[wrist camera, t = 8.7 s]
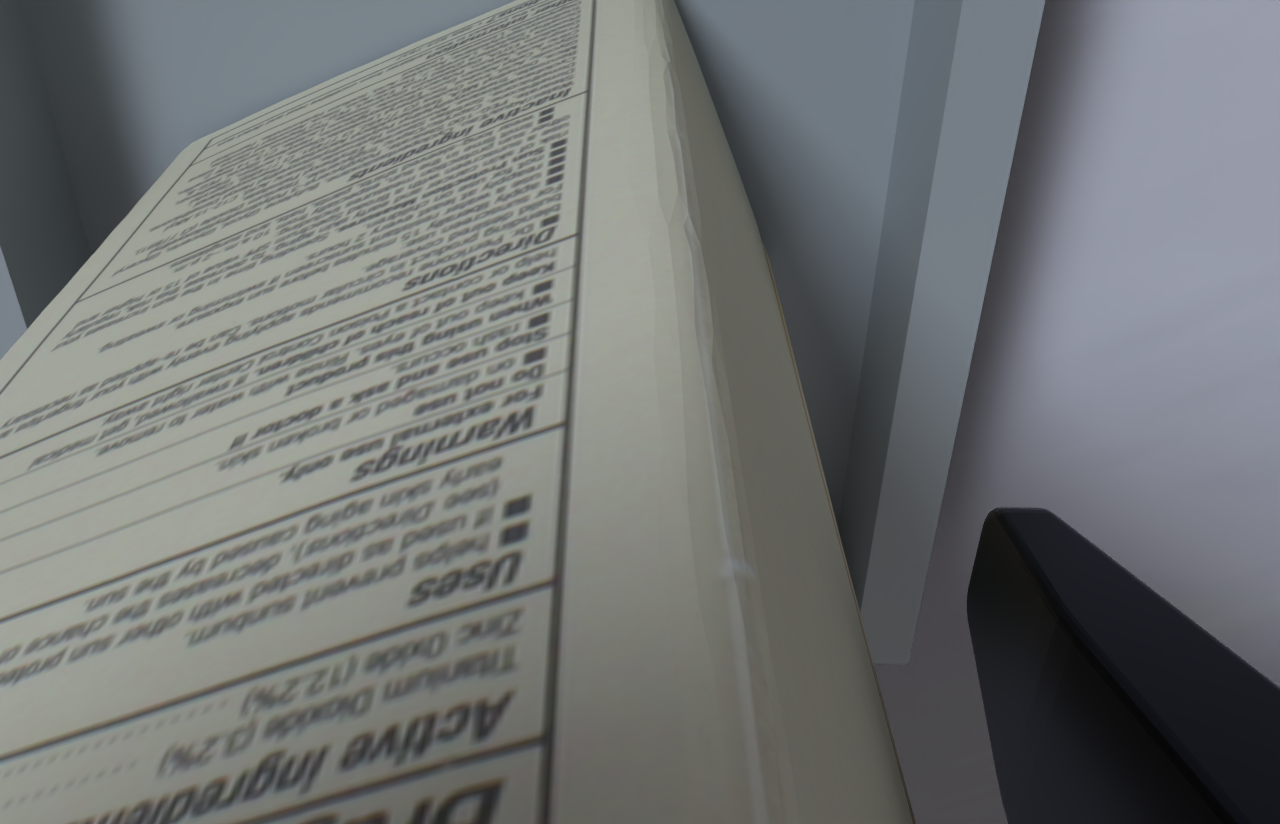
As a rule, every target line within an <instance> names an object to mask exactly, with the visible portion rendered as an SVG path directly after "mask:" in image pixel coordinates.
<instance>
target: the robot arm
mask: <svg viewBox="0 0 1280 824" xmlns="http://www.w3.org/2000/svg"><path fill="white" fill-rule="evenodd" d="M967 615H968V623H969V628H970V634H971V639H972V645H973V650H974V655H975V661H976V666H977V672H978V677H979V682H980V688H981V693H982V698H983V704H984V709H985V715H986V720H987V725H988V731H989V736H990V742H991V747H992V752H993V758H994V763H995V768H996V774H997V778H998V783H999V788H1000V793H1001V798H1002V802H1003V806H1004V809H1005V813H1006V817H1007V820H1008V824H1280V687H1278V686H1277V685H1276V684H1274V683H1273V682H1272V681H1270V680H1269V679H1268V678H1267V677H1265V676H1264V675H1263V674H1261V673H1260V672H1259V671H1257V670H1256V669H1255V668H1254V667H1252V666H1251V665H1250V664H1248V663H1247V662H1246V661H1244V660H1243V659H1242V658H1241V657H1239V656H1238V655H1237V654H1235V653H1234V652H1233V651H1231V650H1230V649H1229V648H1228V647H1226V646H1225V645H1224V644H1222V643H1221V642H1220V641H1218V640H1217V639H1216V638H1215V637H1213V636H1212V635H1211V634H1209V633H1208V632H1207V631H1205V630H1204V629H1203V628H1202V627H1200V626H1199V625H1198V624H1196V623H1195V622H1194V621H1193V620H1191V619H1190V618H1189V617H1187V616H1186V615H1185V614H1183V613H1182V612H1181V611H1180V610H1178V609H1177V608H1176V607H1174V606H1173V605H1172V604H1170V603H1169V602H1168V601H1167V600H1165V599H1164V598H1163V597H1161V596H1160V595H1159V594H1157V593H1156V592H1155V591H1154V590H1152V589H1151V588H1150V587H1148V586H1147V585H1146V584H1144V583H1143V582H1142V581H1141V580H1139V579H1138V578H1137V577H1135V576H1134V575H1133V574H1131V573H1130V572H1129V571H1128V570H1126V569H1125V568H1124V567H1122V566H1121V565H1120V564H1118V563H1117V562H1116V561H1115V560H1113V559H1112V558H1111V557H1109V556H1108V555H1107V554H1106V553H1104V552H1103V551H1102V550H1100V549H1099V548H1098V547H1096V546H1095V545H1094V544H1093V543H1091V542H1090V541H1089V540H1087V539H1086V538H1085V537H1083V536H1082V535H1081V534H1080V533H1078V532H1077V531H1076V530H1074V529H1073V528H1072V527H1070V526H1069V525H1068V524H1067V523H1065V522H1064V521H1063V520H1061V519H1060V518H1059V517H1057V516H1056V515H1055V514H1053V513H1052V512H1050V511H1048V510H1046V509H1043V508H996V509H994V510H993V511H991V512H990V513H989V514H988V516H987V518H986V519H985V521H984V525H983V528H982V532H981V537H980V541H979V545H978V549H977V554H976V558H975V562H974V566H973V571H972V575H971V579H970V583H969V588H968V595H967Z"/></svg>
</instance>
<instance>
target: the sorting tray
mask: <svg viewBox="0 0 1280 824" xmlns="http://www.w3.org/2000/svg"><path fill="white" fill-rule="evenodd" d="M514 1H516V0H0V360H1V359H2V358H3V357H4V355H5V354H6V353H7V352H8V351H9V349H10V348H11V347H12V346H13V345H14V344H15V343H16V342H17V340H18V339H19V338H20V337H21V336H22V335H23V334H24V333H25V331H26V330H27V329H28V328H29V327H30V326H31V324H32V323H33V322H34V321H35V320H36V318H37V317H38V316H39V315H40V314H41V312H42V311H43V310H44V309H45V308H46V307H47V306H48V305H49V304H50V302H51V301H52V300H53V299H54V298H55V297H56V296H57V295H58V294H59V293H60V292H61V291H62V289H63V288H64V287H65V286H66V285H67V284H68V282H69V281H70V280H71V279H72V278H73V277H74V275H75V274H76V273H77V272H78V271H79V270H80V268H81V267H82V266H83V265H84V264H85V263H86V261H87V260H88V259H89V258H90V257H91V256H92V255H93V254H94V253H95V251H96V250H97V249H98V248H99V247H100V246H101V244H102V243H103V242H104V241H105V240H106V238H107V237H108V236H109V235H110V234H111V232H112V231H113V230H114V229H115V228H116V227H117V226H118V225H119V224H120V222H121V221H122V220H123V219H124V218H125V217H126V216H127V215H128V214H129V212H130V211H131V210H132V209H133V208H134V206H135V205H136V204H137V203H138V201H139V200H140V199H141V198H142V197H143V196H144V194H145V193H146V192H147V191H148V190H149V189H150V188H151V187H152V185H153V184H154V183H155V182H156V181H157V180H158V179H159V177H160V176H161V175H162V174H163V173H164V172H165V171H166V169H167V168H168V167H169V166H170V164H171V163H172V162H173V161H174V160H175V159H176V157H177V156H178V155H179V154H180V153H181V152H182V151H183V150H184V149H185V148H186V147H188V146H189V145H190V144H191V143H193V142H195V141H197V140H199V139H201V138H203V137H205V136H207V135H209V134H211V133H214V132H216V131H218V130H220V129H223V128H225V127H227V126H229V125H231V124H234V123H236V122H238V121H240V120H242V119H244V118H246V117H248V116H250V115H252V114H255V113H257V112H259V111H261V110H263V109H265V108H267V107H270V106H272V105H274V104H276V103H278V102H280V101H282V100H285V99H287V98H290V97H292V96H294V95H297V94H299V93H301V92H303V91H306V90H308V89H310V88H312V87H314V86H317V85H319V84H321V83H323V82H325V81H328V80H330V79H332V78H334V77H337V76H339V75H341V74H343V73H346V72H348V71H351V70H353V69H356V68H358V67H360V66H363V65H365V64H368V63H370V62H372V61H375V60H377V59H379V58H382V57H384V56H386V55H388V54H391V53H393V52H395V51H397V50H400V49H402V48H404V47H406V46H408V45H411V44H413V43H415V42H417V41H420V40H422V39H425V38H427V37H430V36H432V35H435V34H437V33H439V32H442V31H444V30H447V29H449V28H452V27H454V26H456V25H459V24H461V23H464V22H466V21H468V20H471V19H473V18H475V17H478V16H480V15H483V14H485V13H487V12H490V11H492V10H495V9H497V8H499V7H502V6H504V5H506V4H509V3H511V2H514ZM674 2H675V4H676V7H677V9H678V12H679V14H680V17H681V19H682V22H683V24H684V27H685V30H686V32H687V35H688V37H689V40H690V42H691V45H692V47H693V50H694V52H695V55H696V58H697V60H698V63H699V66H700V69H701V71H702V74H703V77H704V79H705V82H706V85H707V87H708V90H709V93H710V96H711V98H712V101H713V104H714V106H715V109H716V112H717V114H718V117H719V120H720V123H721V125H722V128H723V131H724V133H725V136H726V139H727V141H728V144H729V147H730V150H731V152H732V155H733V158H734V160H735V163H736V166H737V169H738V171H739V174H740V177H741V180H742V183H743V186H744V188H745V191H746V194H747V197H748V200H749V203H750V205H751V208H752V211H753V214H754V217H755V220H756V223H757V226H758V229H759V232H760V235H761V238H762V241H763V243H764V246H765V249H766V252H767V254H768V257H769V260H770V264H771V268H772V272H773V275H774V279H775V283H776V287H777V291H778V295H779V299H780V302H781V306H782V310H783V314H784V318H785V322H786V326H787V330H788V334H789V338H790V342H791V346H792V350H793V354H794V358H795V362H796V366H797V370H798V374H799V378H800V382H801V386H802V390H803V394H804V398H805V402H806V405H807V409H808V413H809V417H810V421H811V425H812V429H813V433H814V437H815V441H816V445H817V449H818V452H819V456H820V460H821V464H822V468H823V472H824V476H825V480H826V484H827V488H828V492H829V496H830V500H831V503H832V507H833V511H834V515H835V519H836V523H837V527H838V531H839V535H840V538H841V542H842V546H843V550H844V554H845V557H846V561H847V565H848V569H849V573H850V576H851V580H852V584H853V588H854V592H855V595H856V599H857V603H858V607H859V611H860V614H861V618H862V622H863V626H864V630H865V633H866V637H867V641H868V645H869V649H870V653H871V656H872V660H873V664H909V661H910V656H911V651H912V646H913V641H914V636H915V632H916V627H917V622H918V617H919V612H920V607H921V602H922V598H923V593H924V588H925V583H926V578H927V573H928V568H929V564H930V559H931V554H932V549H933V544H934V539H935V534H936V530H937V525H938V520H939V515H940V510H941V505H942V500H943V496H944V491H945V486H946V481H947V476H948V471H949V466H950V461H951V457H952V452H953V447H954V442H955V437H956V432H957V427H958V423H959V418H960V413H961V408H962V403H963V398H964V393H965V389H966V384H967V379H968V374H969V369H970V364H971V359H972V355H973V350H974V345H975V340H976V335H977V330H978V325H979V321H980V316H981V311H982V306H983V301H984V296H985V291H986V287H987V282H988V277H989V272H990V267H991V262H992V257H993V253H994V248H995V243H996V238H997V233H998V228H999V223H1000V219H1001V214H1002V209H1003V204H1004V199H1005V194H1006V189H1007V185H1008V180H1009V175H1010V170H1011V165H1012V160H1013V155H1014V151H1015V146H1016V141H1017V136H1018V131H1019V126H1020V121H1021V117H1022V112H1023V107H1024V102H1025V97H1026V92H1027V87H1028V83H1029V78H1030V73H1031V68H1032V63H1033V58H1034V53H1035V49H1036V44H1037V39H1038V34H1039V29H1040V24H1041V19H1042V15H1043V10H1044V5H1045V0H674Z"/></svg>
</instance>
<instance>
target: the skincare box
mask: <svg viewBox="0 0 1280 824" xmlns="http://www.w3.org/2000/svg"><path fill="white" fill-rule="evenodd" d="M0 824H916V823H915V819H914V815H913V812H912V808H911V804H910V800H909V796H908V793H907V789H906V785H905V781H904V777H903V774H902V770H901V766H900V762H899V759H898V755H897V751H896V748H895V744H894V740H893V736H892V733H891V729H890V725H889V722H888V718H887V714H886V710H885V706H884V702H883V699H882V695H881V691H880V687H879V683H878V679H877V676H876V672H875V668H874V664H873V660H872V656H871V653H870V649H869V645H868V641H867V637H866V633H865V630H864V626H863V622H862V618H861V614H860V611H859V607H858V603H857V599H856V595H855V592H854V588H853V584H852V580H851V576H850V573H849V569H848V565H847V561H846V557H845V554H844V550H843V546H842V542H841V538H840V535H839V531H838V527H837V523H836V519H835V515H834V511H833V507H832V503H831V500H830V496H829V492H828V488H827V484H826V480H825V476H824V472H823V468H822V464H821V460H820V456H819V452H818V449H817V445H816V441H815V437H814V433H813V429H812V425H811V421H810V417H809V413H808V409H807V405H806V402H805V398H804V394H803V390H802V386H801V382H800V378H799V374H798V370H797V366H796V362H795V358H794V354H793V350H792V346H791V342H790V338H789V334H788V330H787V326H786V322H785V318H784V314H783V310H782V306H781V302H780V299H779V295H778V291H777V287H776V283H775V279H774V275H773V272H772V268H771V264H770V260H769V257H768V254H767V252H766V249H765V246H764V243H763V241H762V238H761V235H760V232H759V229H758V226H757V223H756V220H755V217H754V214H753V211H752V208H751V205H750V203H749V200H748V197H747V194H746V191H745V188H744V186H743V183H742V180H741V177H740V174H739V171H738V169H737V166H736V163H735V160H734V158H733V155H732V152H731V150H730V147H729V144H728V141H727V139H726V136H725V133H724V131H723V128H722V125H721V123H720V120H719V117H718V114H717V112H716V109H715V106H714V104H713V101H712V98H711V96H710V93H709V90H708V87H707V85H706V82H705V79H704V77H703V74H702V71H701V69H700V66H699V63H698V60H697V58H696V55H695V52H694V50H693V47H692V45H691V42H690V40H689V37H688V35H687V32H686V30H685V27H684V24H683V22H682V19H681V17H680V14H679V12H678V9H677V7H676V4H675V2H674V0H516V1H514V2H511V3H509V4H506V5H504V6H502V7H499V8H497V9H495V10H492V11H490V12H487V13H485V14H483V15H480V16H478V17H475V18H473V19H471V20H468V21H466V22H464V23H461V24H459V25H456V26H454V27H452V28H449V29H447V30H444V31H442V32H439V33H437V34H435V35H432V36H430V37H427V38H425V39H422V40H420V41H417V42H415V43H413V44H411V45H408V46H406V47H404V48H402V49H400V50H397V51H395V52H393V53H391V54H388V55H386V56H384V57H382V58H379V59H377V60H375V61H372V62H370V63H368V64H365V65H363V66H360V67H358V68H356V69H353V70H351V71H348V72H346V73H343V74H341V75H339V76H337V77H334V78H332V79H330V80H328V81H325V82H323V83H321V84H319V85H317V86H314V87H312V88H310V89H308V90H306V91H303V92H301V93H299V94H297V95H294V96H292V97H290V98H287V99H285V100H282V101H280V102H278V103H276V104H274V105H272V106H270V107H267V108H265V109H263V110H261V111H259V112H257V113H255V114H252V115H250V116H248V117H246V118H244V119H242V120H240V121H238V122H236V123H234V124H231V125H229V126H227V127H225V128H223V129H220V130H218V131H216V132H214V133H211V134H209V135H207V136H205V137H203V138H201V139H199V140H197V141H195V142H193V143H191V144H190V145H189V146H188V147H186V148H185V149H184V150H183V151H182V152H181V153H180V154H179V155H178V156H177V157H176V159H175V160H174V161H173V162H172V163H171V164H170V166H169V167H168V168H167V169H166V171H165V172H164V173H163V174H162V175H161V176H160V177H159V179H158V180H157V181H156V182H155V183H154V184H153V185H152V187H151V188H150V189H149V190H148V191H147V192H146V193H145V194H144V196H143V197H142V198H141V199H140V200H139V201H138V203H137V204H136V205H135V206H134V208H133V209H132V210H131V211H130V212H129V214H128V215H127V216H126V217H125V218H124V219H123V220H122V221H121V222H120V224H119V225H118V226H117V227H116V228H115V229H114V230H113V231H112V232H111V234H110V235H109V236H108V237H107V238H106V240H105V241H104V242H103V243H102V244H101V246H100V247H99V248H98V249H97V250H96V251H95V253H94V254H93V255H92V256H91V257H90V258H89V259H88V260H87V261H86V263H85V264H84V265H83V266H82V267H81V268H80V270H79V271H78V272H77V273H76V274H75V275H74V277H73V278H72V279H71V280H70V281H69V282H68V284H67V285H66V286H65V287H64V288H63V289H62V291H61V292H60V293H59V294H58V295H57V296H56V297H55V298H54V299H53V300H52V301H51V302H50V304H49V305H48V306H47V307H46V308H45V309H44V310H43V311H42V312H41V314H40V315H39V316H38V317H37V318H36V320H35V321H34V322H33V323H32V324H31V326H30V327H29V328H28V329H27V330H26V331H25V333H24V334H23V335H22V336H21V337H20V338H19V339H18V340H17V342H16V343H15V344H14V345H13V346H12V347H11V348H10V349H9V351H8V352H7V353H6V354H5V355H4V357H3V358H2V359H1V360H0Z"/></svg>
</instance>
